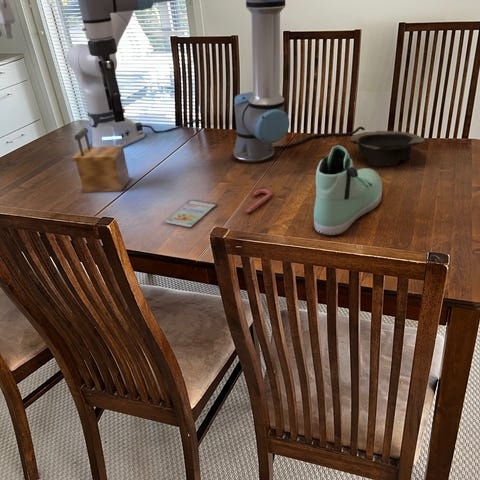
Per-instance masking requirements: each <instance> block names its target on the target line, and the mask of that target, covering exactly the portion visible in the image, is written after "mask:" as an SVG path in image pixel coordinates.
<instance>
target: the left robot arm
mask: <svg viewBox="0 0 480 480" xmlns="http://www.w3.org/2000/svg"><path fill="white" fill-rule="evenodd" d="M133 14H134V11H126V12H116V13H110V15H111V20H112V24H113V29H114V36H113V38H114V39H115V41H116V46H117V48H118V47H119V44H120V41H121V39H122V37H123V35H124V33H125V31H126V29H127V28H128V26H129V24H130V22H131V20H132V16H133ZM15 23H16V18H15V15H14V12H13V9H12V5H11V4H10V1H9V0H0V25H2V28H3V30H4V31H3V32H4V37H5V39H7V40H11V39H13V38H14V37H13V34H12V25H11V24H15ZM0 37H3V33H2V30H0ZM116 55H117V52H116V53H114V54H110V55H109V56H110V59H112V61H113V62H114V69H115V71H116V70H117V68H118V60H117V57H116ZM65 57H66V58H65V59H66V62H67V64H68V67H70V68H71V70H72V71H73V73H74V75H75V78H76V80H77V81H78V83H79V86H80V88H81V90H82V93H83V96H84V100H85V104H86V109H87V118H88V122H89V125H90V127H91V128H90V129H91V137H92V138H91V140H92V141H91V147H115V146H123V148H124V147H127V146H128V145H131V144H132V143H135V142H137V141H139V140H141V139H143V138H145V137H146V135H145V133H144V132H142V131H144V128H149V129H151V131H152V132H153V133H156V134H160V133H166V132H167V133H168V132H171V131H174V130H177V129H180V128H182V127H184V126H187V125H190V124H193V123H196V122H200V123H205V121H204V120H203V119H199V118H197V119H193V120H191V121H188V122H185V123H183V124H180V125H178V126H175V127H172V128H169V129H166V130H160V131H159V130H155V129H154V128H153V126H150V125H147V124H143V123H142V122H141V121H140V122H134V121H133V120H131V119H129V118H127V117H125V116H124V118H125V121H121V122H115V119H114V114H113V110H109V106H108V102H107V97H106V92H105V87H104V84H103V79H102V73H101V71H100V67H99V64H98V61H99V58H98V56H92V55H90V52H89V47H88V44H85V43H79V44H75V45H72V46H71V47H69V48H68V50H67V52H66V56H65ZM122 108H123V113H124V114H125V112H126V109H125V108H124V107H122Z"/></svg>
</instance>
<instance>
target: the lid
mask: <svg viewBox="0 0 480 480" xmlns="http://www.w3.org/2000/svg"><path fill="white" fill-rule="evenodd" d="M88 133H89V129H88V128H87V127H82V128H81V130H79V131H78V132H77V133H75V135H74V140H75V141H76V142H77V145H78V148H79V151H77V153H75V155H73V157H71V160H72V162H76V161H101V160H115V159H116V158H117V157H118V156H119V154H120V153H121V152H122V151H123V150H124V147H123V146H115V147H92V146H91V143H90V140H89V137H88ZM83 138H84V139H85V142H86V143H85V144H86V147H83V145H82V141H81V140H82V139H83Z"/></svg>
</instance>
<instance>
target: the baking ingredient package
mask: <svg viewBox="0 0 480 480" xmlns="http://www.w3.org/2000/svg"><path fill="white" fill-rule="evenodd" d="M215 206H216V204H213V203H207V202H202V201H196V200H190V201H189V202H187V203H186V204H185V205H184V206H183V207H181V208H180V209H179V210H178V211H176V212H174V214H172V215H171V216H169V218H167V219H166V220H165V221H164V223H167V224H172V225H177V226H182V227H189V228H191V227H192V226H193V225H195V224H196V223H197V222H198V221H199V220H201V219H202V218H203V217H204V216H205V215H206V214H207V213H208V212H210V210H212V209H213V208H214V207H215Z"/></svg>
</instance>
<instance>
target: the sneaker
mask: <svg viewBox="0 0 480 480" xmlns="http://www.w3.org/2000/svg"><path fill="white" fill-rule="evenodd" d="M317 165H318V166H317V168H316V172H315V201H314V207H313V225H314V229H315V231H316V232H318V233H320V234H323V235H326V236H327V235H328V236H336V235H339V234H342V233H344V232H345V231H347V230H348V229H349V228H350V227H351V226H352V225H353V224H354V222H356V221H357V220H358V219H359V218H360V217H362V216H363V215H365V214H367V213H370V212H372V210H374V209H375V208H377V207H378V205H380V203H381V200H382V196H383V184H382V183H383V182H382V179H381V176H380V175H379V173H378V172H377V171H376V170H374V169H372V168H367V167H365V168H358V169H357V168H355V167H354V161H353V159H352V158H351V156H350V153H349V152H348V150H347V148H345V147H344V146H342V145H334V146H333V147H331V149H330V151H329V154H327V155H326V156H325V157H324V158H322V159H321V160H320V161H319V163H318V164H317ZM343 230H344V231H343ZM319 231H320V232H319ZM322 232H323V233H322ZM339 232H340V233H339ZM326 233H327V234H326ZM328 233H329V234H328ZM335 233H337V234H335Z"/></svg>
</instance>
